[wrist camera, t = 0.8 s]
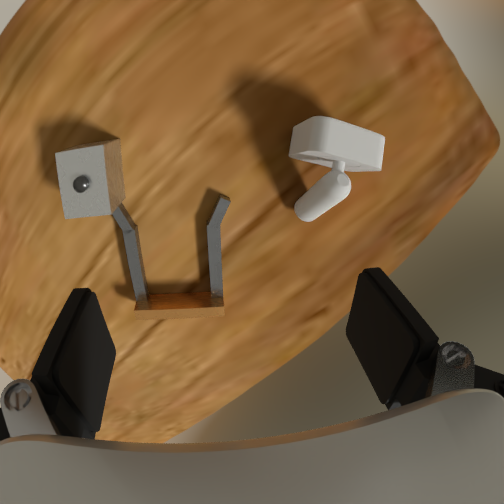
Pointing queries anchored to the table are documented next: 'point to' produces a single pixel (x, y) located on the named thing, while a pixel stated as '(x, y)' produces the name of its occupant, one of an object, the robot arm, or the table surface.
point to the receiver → (178, 302)
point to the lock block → (91, 179)
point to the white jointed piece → (333, 159)
